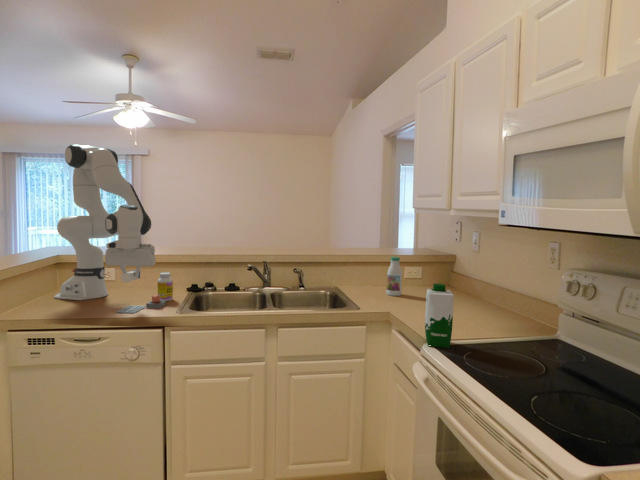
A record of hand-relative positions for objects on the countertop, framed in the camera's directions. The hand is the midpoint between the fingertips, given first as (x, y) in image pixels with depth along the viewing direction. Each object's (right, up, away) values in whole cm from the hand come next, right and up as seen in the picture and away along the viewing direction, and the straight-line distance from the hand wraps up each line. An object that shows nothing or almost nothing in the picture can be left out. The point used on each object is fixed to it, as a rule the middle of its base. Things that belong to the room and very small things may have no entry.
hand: (130, 276), depth 166 cm
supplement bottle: (+7, -13, +19) cm, 24 cm away
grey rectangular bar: (0, -2, 0) cm, 2 cm away
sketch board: (0, -15, +1) cm, 15 cm away
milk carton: (+121, -20, -33) cm, 127 cm away
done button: (+8, -12, +7) cm, 16 cm away
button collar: (+8, -14, +7) cm, 18 cm away
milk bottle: (+120, -14, +41) cm, 127 cm away
